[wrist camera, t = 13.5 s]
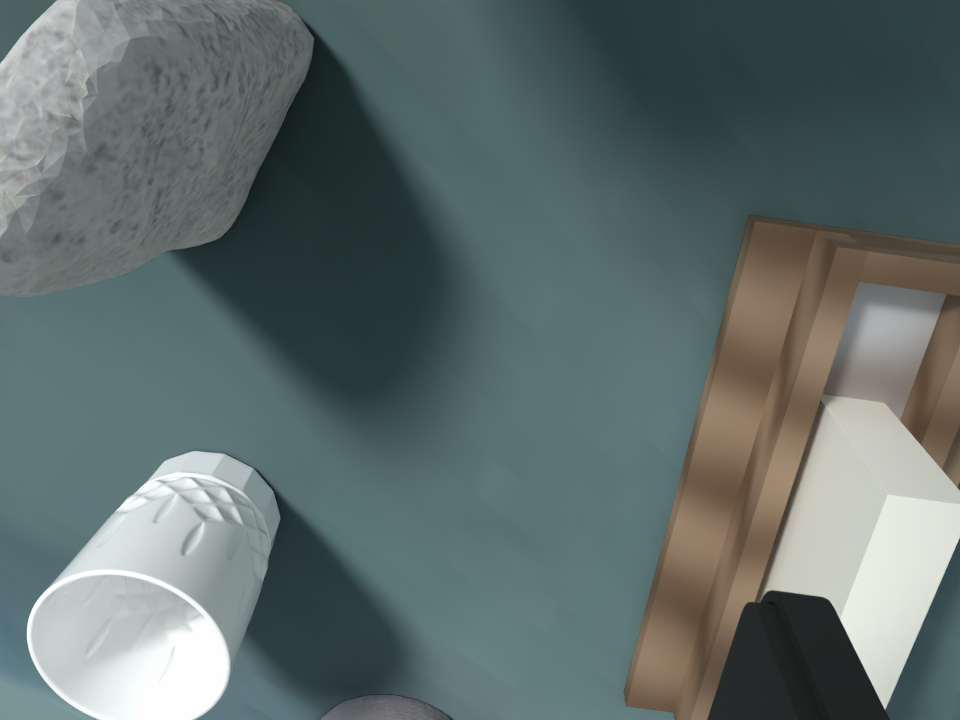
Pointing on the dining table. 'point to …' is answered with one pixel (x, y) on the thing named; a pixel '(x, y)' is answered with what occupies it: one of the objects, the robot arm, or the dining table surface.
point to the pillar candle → (384, 709)
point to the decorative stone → (136, 131)
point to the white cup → (160, 594)
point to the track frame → (789, 422)
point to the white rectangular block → (867, 531)
